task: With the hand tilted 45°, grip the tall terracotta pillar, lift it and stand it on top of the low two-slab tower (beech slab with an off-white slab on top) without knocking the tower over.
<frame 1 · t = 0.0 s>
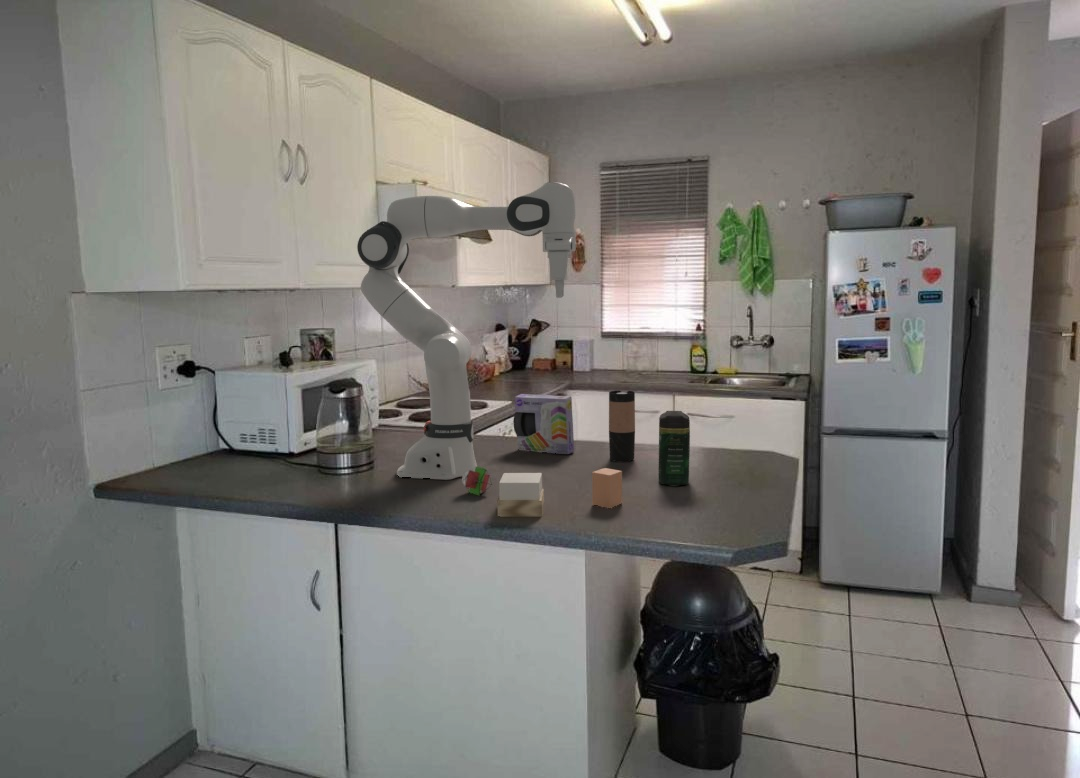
hand: (559, 297, 205), 48 cm above the counter, tool pointing down, fingers open, 8 cm apart
travel mug: (622, 459, 224), on the counter
pillar: (607, 504, 179), on the counter
cake pan box: (543, 452, 236), on the counter
tower base: (521, 511, 176), on the counter, touching tower top
geometric puzzle: (477, 494, 191), on the counter
coffee jar: (673, 482, 198), on the counter
tower top: (521, 494, 176), point 4 cm above the counter, touching tower base
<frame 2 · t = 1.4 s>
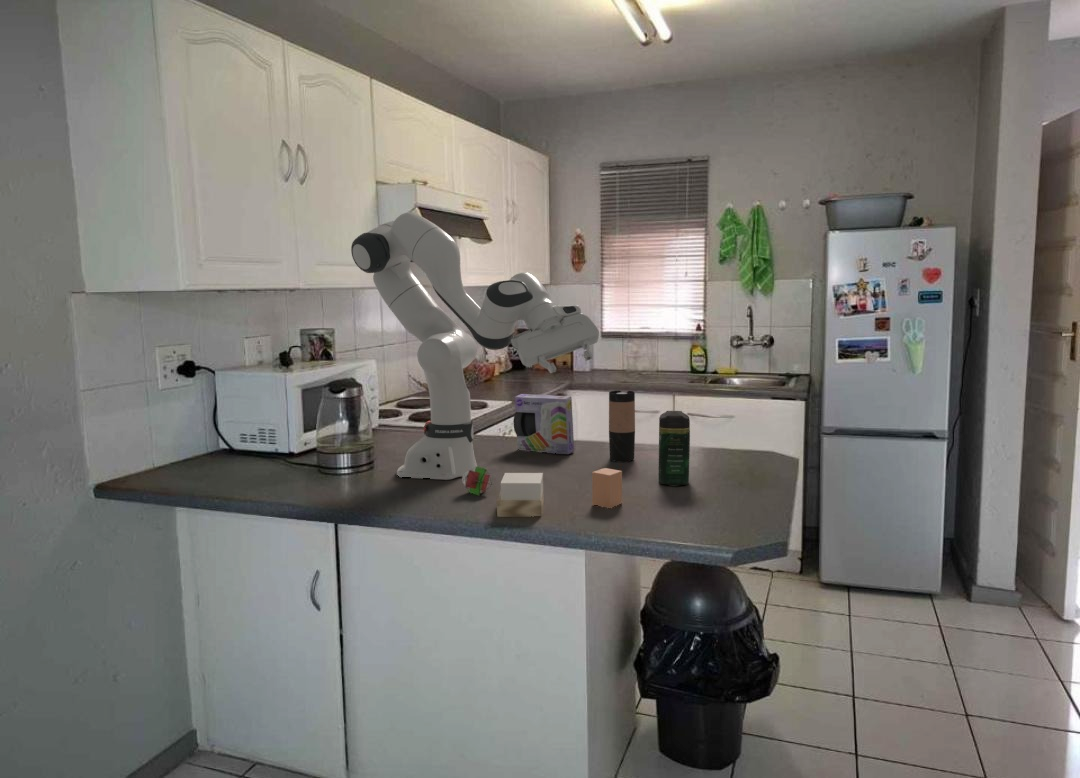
hand: (571, 364, 179), 33 cm above the counter, tool tilted 50°, fingers open, 8 cm apart
nothing on the counter moved.
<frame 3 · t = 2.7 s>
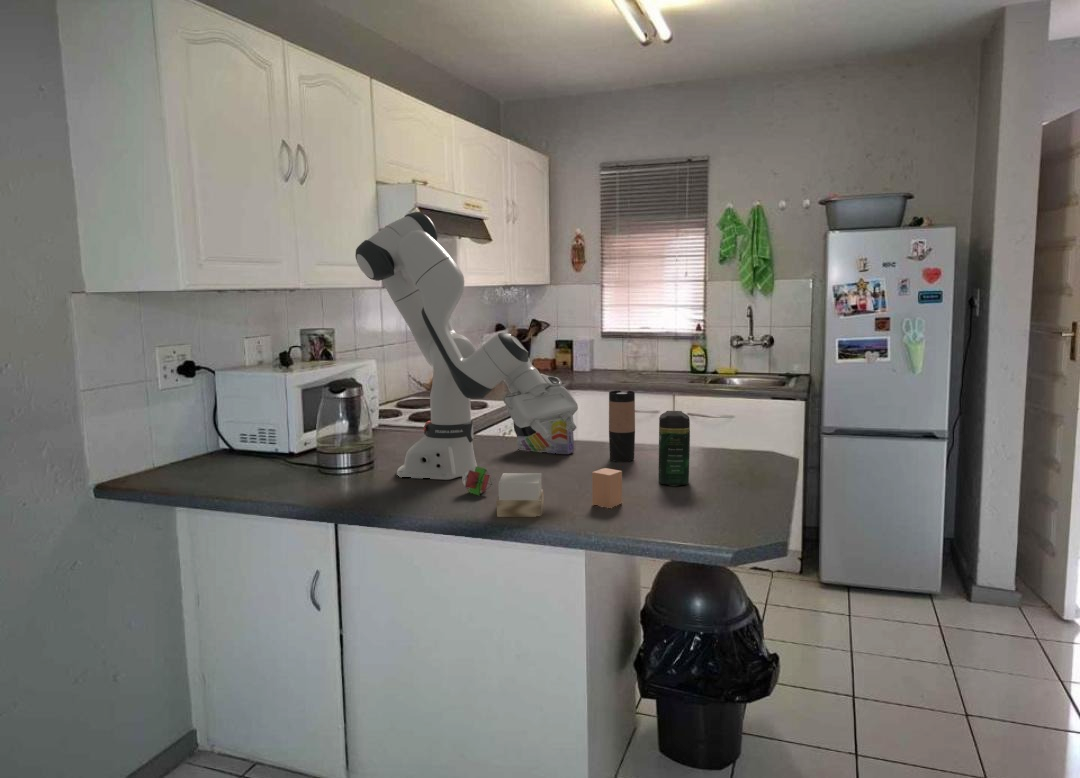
hand: (560, 433, 184), 16 cm above the counter, tool tilted 45°, fingers open, 8 cm apart
tower base: (520, 511, 176), on the counter
tower top: (520, 494, 175), point 4 cm above the counter
everything else where it was.
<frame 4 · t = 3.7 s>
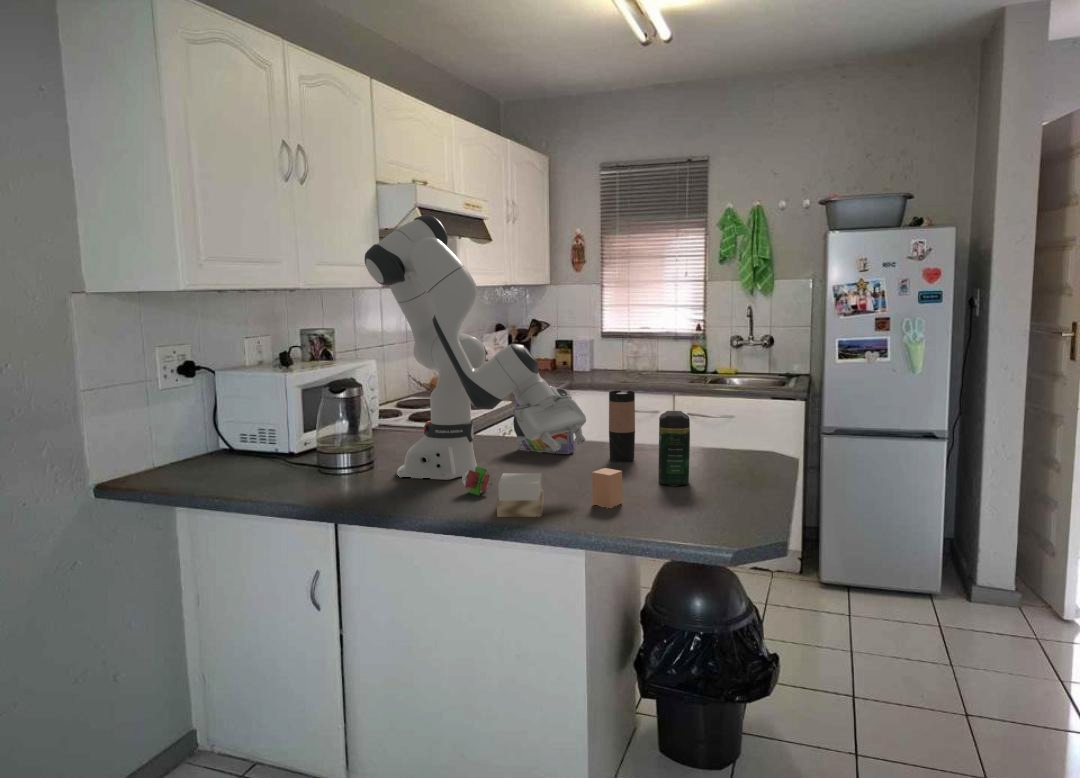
hand: (570, 445, 183), 13 cm above the counter, tool tilted 45°, fingers open, 8 cm apart
tower base: (521, 511, 176), on the counter, touching tower top
tower top: (520, 495, 175), point 4 cm above the counter, touching tower base
everything else where it was.
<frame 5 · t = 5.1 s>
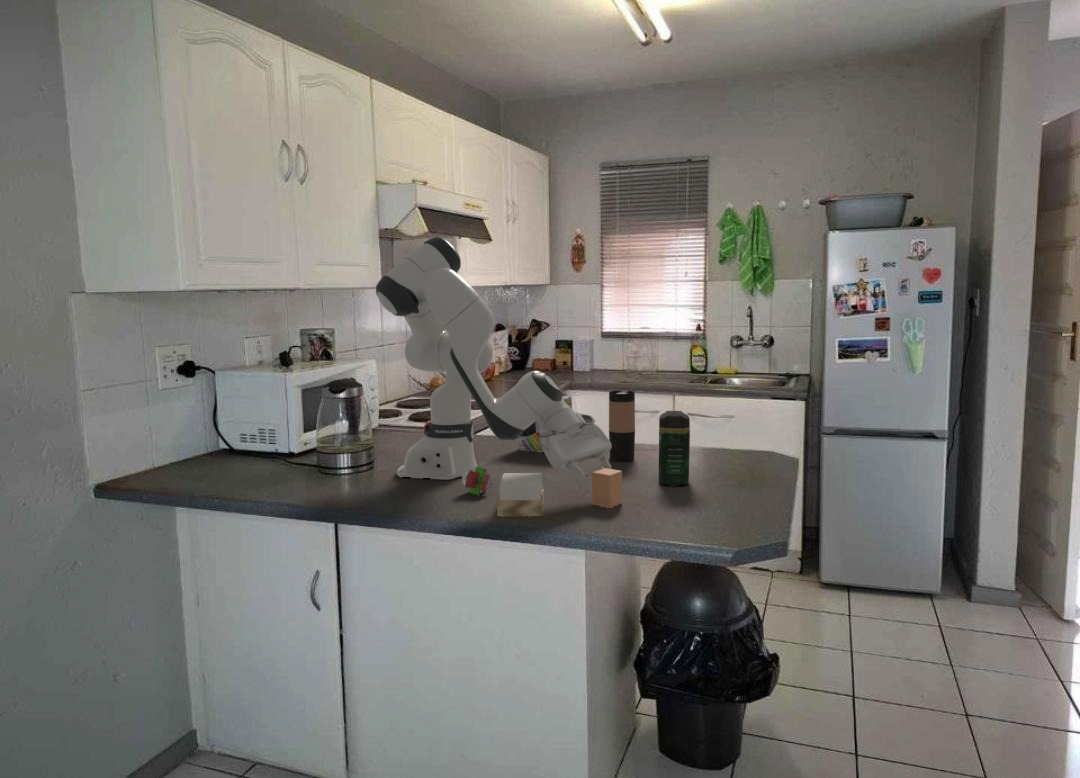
hand: (596, 474, 179), 7 cm above the counter, tool tilted 45°, fingers open, 8 cm apart
nothing on the counter moved.
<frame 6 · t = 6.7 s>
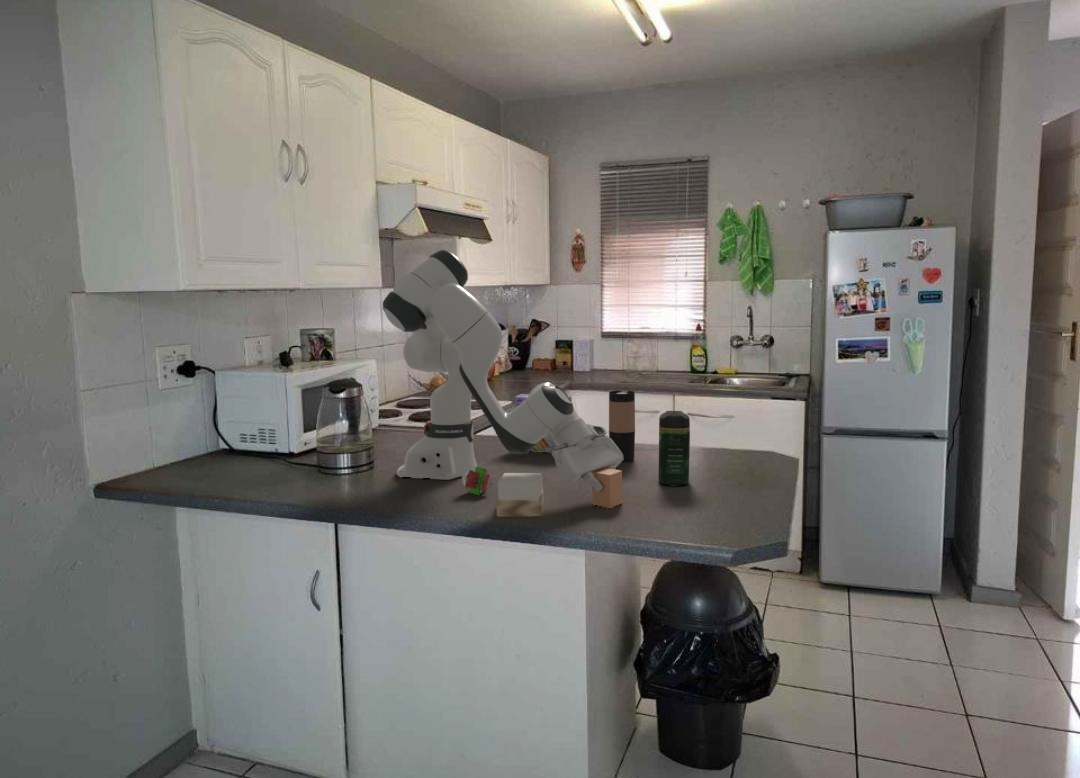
hand: (609, 486, 178), 4 cm above the counter, tool tilted 45°, fingers closed on pillar, 5 cm apart
pillar: (607, 504, 179), on the counter, touching gripper
everything else where it was.
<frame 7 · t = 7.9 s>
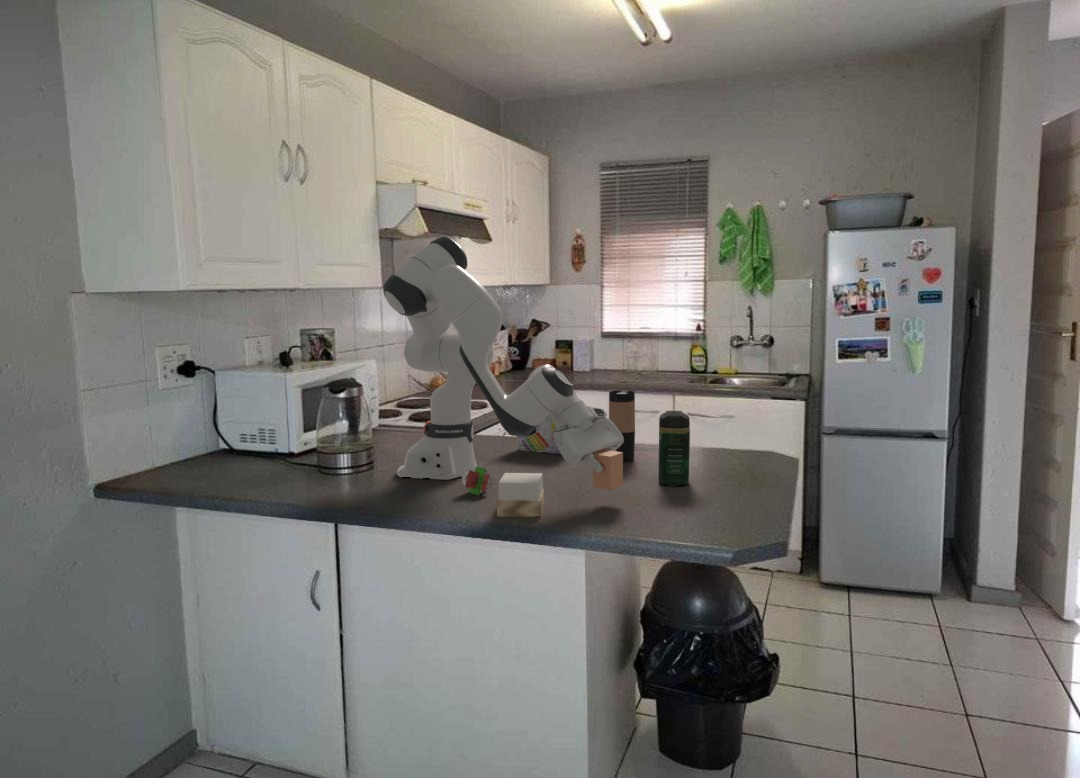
hand: (610, 468, 178), 9 cm above the counter, tool tilted 45°, fingers closed on pillar, 5 cm apart
pillar: (608, 486, 179), point 4 cm above the counter, touching gripper
everything else where it was.
when the fingers open (13 cm above the counter, at t = 13.0 s): pillar drops 1 cm, resting on tower top.
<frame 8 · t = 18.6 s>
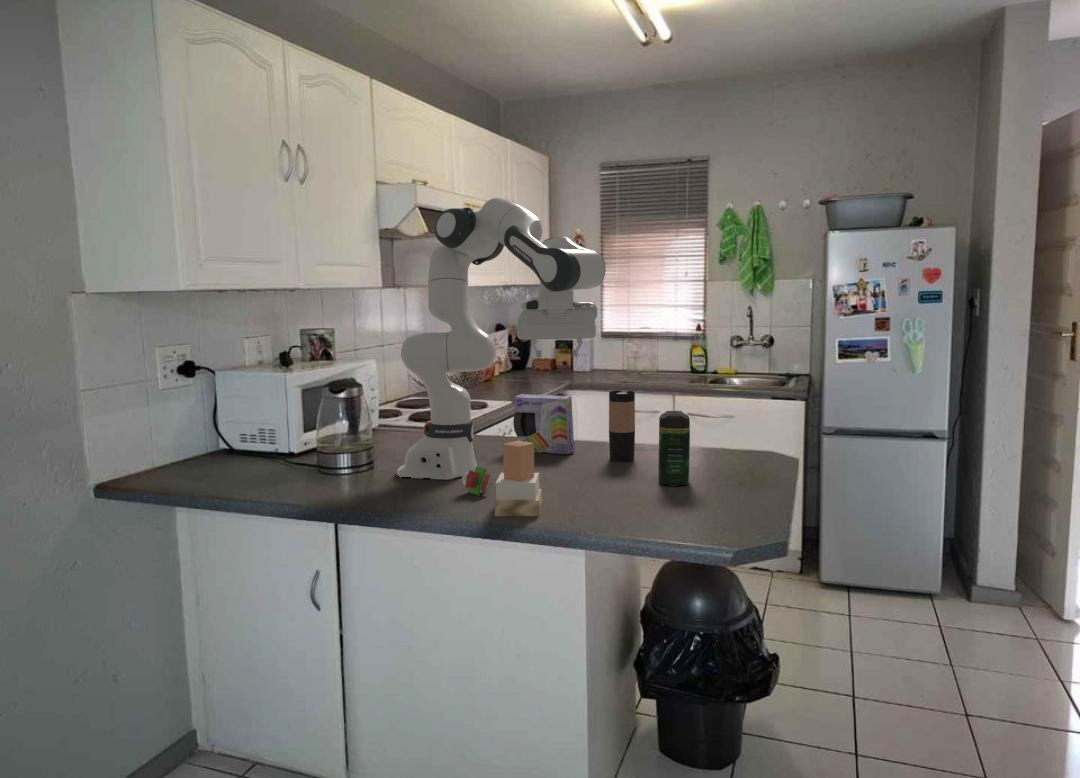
hand: (557, 356, 195), 33 cm above the counter, tool pointing down, fingers open, 8 cm apart
pillar: (519, 477, 175), point 8 cm above the counter, touching tower top
tower top: (518, 494, 176), point 4 cm above the counter, touching pillar, tower base
everything else where it was.
at the end: pillar 0.3 cm off-centre on the tower top, point 4.1 cm above the tower top's base; pillar tilted 1°; tower top moved 1.0 cm from its start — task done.
